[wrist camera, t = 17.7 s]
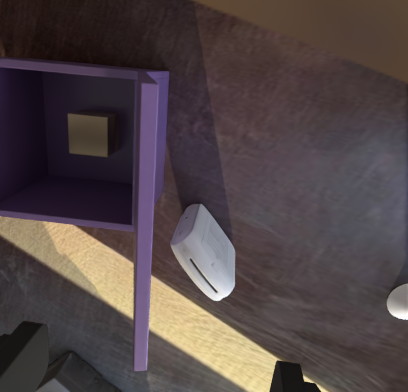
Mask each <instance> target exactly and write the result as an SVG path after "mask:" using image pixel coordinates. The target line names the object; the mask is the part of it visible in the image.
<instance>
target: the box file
mask: <svg viewBox="0 0 408 392" xmlns="http://www.w3.org/2000/svg"><path fill="white" fill-rule="evenodd" d="M138 71H141V72H146V73H147V74H148V75H150V76H151V77H152V78H153V79H154V80H155V81H156V82H157V83H158V84H159V96H158V119H157V143H156V166H155V189H154V205H155V203H156V202H157V200H158V198H159V196H160V195H161V193H162V192H163V184H164V165H165V145H166V126H167V106H168V87H169V71H162V70H151V69H141V68H130V67H119V66H109V65H98V64H88V63H77V62H66V61H56V60H45V59H32V58H14V57H0V216H3V217H12V218H21V219H29V220H38V221H47V222H55V223H64V224H73V225H81V226H90V227H99V228H107V229H116V230H125V231H133V232H134V203H135V159H136V115H137V72H138ZM83 109H86V110H96V111H106V112H116V113H120V149H119V150H117V151H116V152H114V153H113V154H112V155H110V156H109V157H100V156H91V155H82V154H72V153H69V133H68V113H72V112H75V111H79V110H83Z"/></svg>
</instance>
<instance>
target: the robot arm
mask: <svg viewBox="0 0 408 392" xmlns="http://www.w3.org/2000/svg"><path fill="white" fill-rule="evenodd" d="M48 363H49V343H48V327H47V325H46V324H42V323H35V322H29V321H23V322H22V323H21V324H20V325H19V326H18V327H17V328H16V329H15V330H14V331H13V333H12V334H11V335H7V334H3V335H2V336H0V392H35V390H36V388H37V387H38V385H39V384H40V382H41V381H42V379H43V377H44V375H45V373H46V371H47V368H48ZM270 392H321V391H320V390H319V388H318V387H317V385H316V384H315V383H309V382H304V379H303V374H302V370H301V366H300V364H297V363H291V362H284V361H277V362H276V365H275V369H274V374H273V378H272V383H271V387H270Z"/></svg>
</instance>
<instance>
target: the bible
mask: <svg viewBox="0 0 408 392" xmlns="http://www.w3.org/2000/svg"><path fill="white" fill-rule="evenodd" d="M35 392H121V391H120V390H118V389H117V388H116V387H115V386H112V385H110V384H108V383H107V382H106V381H105V380H103V379H102V375H101V374H99V373H98V372H97V371H96V370H95V369H93V368H92V367H91V366H90V365H89V364H88V363H86V362H85V361H83V360H81V359H80V357H79V356H78V355H77V354H75V353H74V352H72V353H69V352H68V353H65V354H63V355H62V357H60V358H59V359H56V360H55V361H54V362H53V363H52V364H51V365H49V366H48V368H47V371H46V373H45V375H44V377H43V379H42V381H41V382H40V384H39V385H38V387H37V388H36V390H35Z"/></svg>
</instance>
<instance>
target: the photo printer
mask: <svg viewBox="0 0 408 392" xmlns="http://www.w3.org/2000/svg"><path fill="white" fill-rule="evenodd" d="M170 245H171V248H172V250H173V252H174V254H175V256H176V258H177V259H178V261H179V263H180V264H181V266H182V267H183V269H184V270H185V271H186V273H187V274H188V275H189V277H190V278H191V279H192V280H193V282H194V283H195V284H196V285H197V286H198V287H199V288H200V289H201V290H202V291H203V292H204V293H205V294H206V295H207V296H208V297H210V298H211V299H213V300H215V301H219V300H221V299H222V298H224V297H227V296H228V295H229V294H230V293H231V291H232V290H233V288H234V286H235V250H234V248H233V245H232V244H231V242H230V240H229V239H228V237H227V236H226V235H225V233H224V232H223V230H222V229H221V228H220V226H219V225H218V223H217V222H216V221H215V219H214V218H213V217H212V215H211V214H210V213H209V211H208V210H207V209H206V208H205V207H204V206H203V205H202V204H201V203H200V204H192V205H190V206H188V207H187V208H186V209H185V211H184V214H182V215H181V217H180V219H179V222H178V225H177V227H176V230H175V232H174V235H173V238H172V240H171V243H170Z"/></svg>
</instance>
